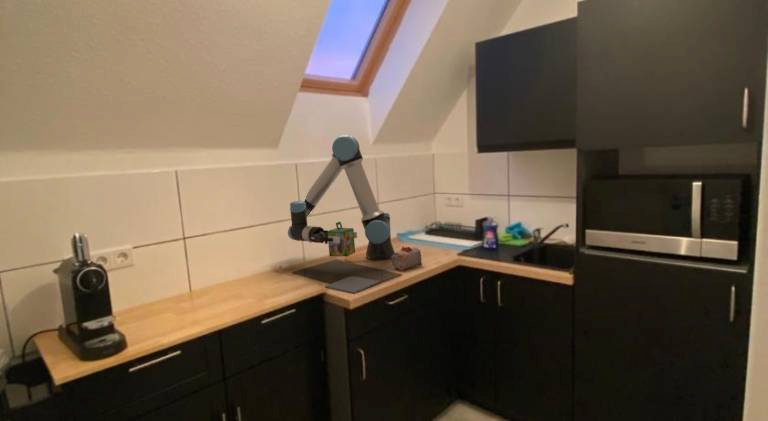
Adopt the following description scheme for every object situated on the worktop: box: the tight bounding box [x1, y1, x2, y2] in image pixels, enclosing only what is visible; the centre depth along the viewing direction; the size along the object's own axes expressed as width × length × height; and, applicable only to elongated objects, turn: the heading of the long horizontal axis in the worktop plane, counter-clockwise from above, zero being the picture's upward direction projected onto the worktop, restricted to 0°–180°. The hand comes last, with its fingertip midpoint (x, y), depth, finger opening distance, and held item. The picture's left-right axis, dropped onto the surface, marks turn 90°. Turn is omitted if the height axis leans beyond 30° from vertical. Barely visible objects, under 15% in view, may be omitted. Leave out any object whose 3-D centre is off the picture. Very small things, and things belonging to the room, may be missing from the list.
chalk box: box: [327, 221, 356, 258], centre depth 191 cm, size 9×9×15 cm
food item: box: [390, 246, 423, 272], centre depth 198 cm, size 14×8×10 cm, turn 130°
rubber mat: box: [324, 275, 381, 295], centre depth 175 cm, size 16×16×1 cm
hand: (348, 237), depth 188 cm, fingers closed on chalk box, 11 cm apart
